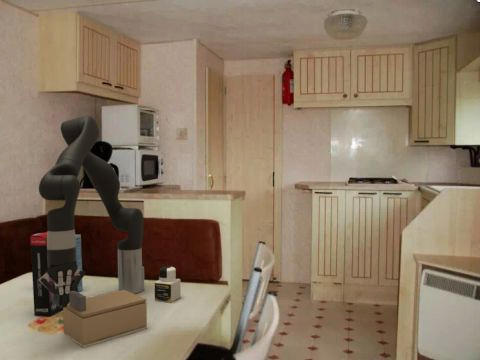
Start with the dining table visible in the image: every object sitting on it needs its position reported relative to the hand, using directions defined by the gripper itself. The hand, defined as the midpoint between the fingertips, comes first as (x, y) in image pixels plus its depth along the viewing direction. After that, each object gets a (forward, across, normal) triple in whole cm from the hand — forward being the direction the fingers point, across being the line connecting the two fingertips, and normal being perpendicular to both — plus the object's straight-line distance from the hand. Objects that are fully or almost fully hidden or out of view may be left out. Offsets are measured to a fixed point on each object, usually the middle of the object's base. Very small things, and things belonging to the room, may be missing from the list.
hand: (63, 306), depth 123 cm
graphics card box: (+11, -10, -32) cm, 35 cm away
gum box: (+11, -18, -54) cm, 58 cm away
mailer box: (+10, -13, 0) cm, 16 cm away
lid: (+2, -13, 0) cm, 13 cm away
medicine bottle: (+11, -44, -13) cm, 47 cm away
